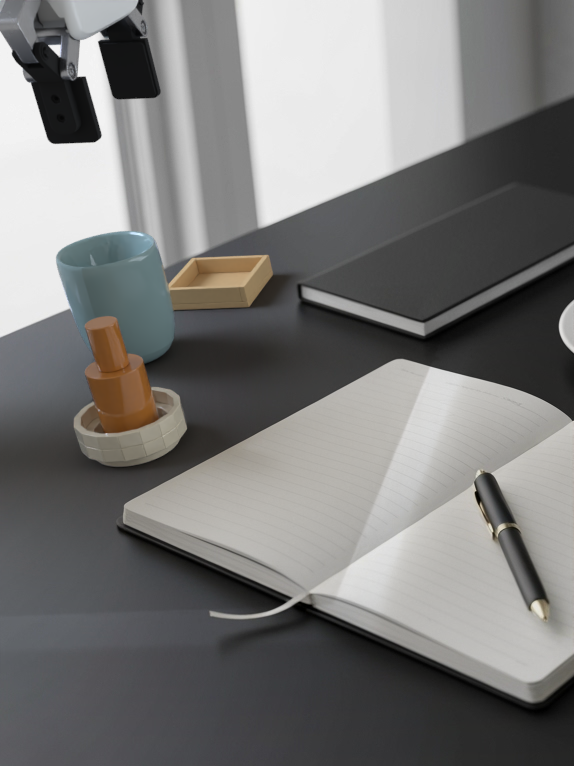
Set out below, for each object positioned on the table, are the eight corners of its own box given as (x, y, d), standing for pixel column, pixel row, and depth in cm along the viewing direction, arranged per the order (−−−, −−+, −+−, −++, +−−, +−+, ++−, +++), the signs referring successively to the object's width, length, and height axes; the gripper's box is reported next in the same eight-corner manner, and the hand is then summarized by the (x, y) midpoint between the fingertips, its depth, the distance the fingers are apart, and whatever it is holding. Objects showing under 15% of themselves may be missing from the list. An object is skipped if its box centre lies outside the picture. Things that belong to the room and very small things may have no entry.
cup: (104, 387, 104) (70, 275, 100) (76, 356, 110) (42, 248, 105) (198, 356, 109) (169, 248, 104) (167, 327, 114) (138, 223, 109)
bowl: (67, 473, 93) (55, 438, 91) (109, 422, 99) (99, 388, 98) (168, 469, 93) (157, 434, 91) (203, 418, 99) (194, 384, 98)
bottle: (97, 451, 94) (60, 335, 89) (119, 423, 97) (85, 311, 93) (151, 449, 94) (117, 333, 89) (171, 421, 97) (139, 309, 93)
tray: (168, 310, 117) (162, 289, 116) (197, 277, 124) (191, 257, 123) (249, 307, 117) (244, 286, 116) (273, 274, 124) (269, 254, 123)
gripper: (36, -174, 83) (106, 85, 92) (-113, -143, 68) (-13, 164, 76) (150, -179, 83) (210, 81, 91) (25, -149, 68) (110, 159, 76)
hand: (108, 118), depth 84 cm, fingers open, 9 cm apart
